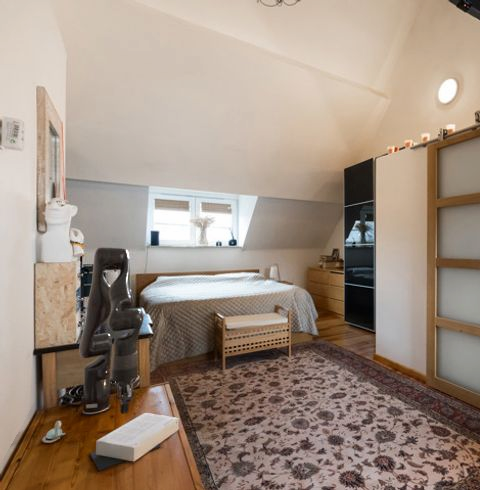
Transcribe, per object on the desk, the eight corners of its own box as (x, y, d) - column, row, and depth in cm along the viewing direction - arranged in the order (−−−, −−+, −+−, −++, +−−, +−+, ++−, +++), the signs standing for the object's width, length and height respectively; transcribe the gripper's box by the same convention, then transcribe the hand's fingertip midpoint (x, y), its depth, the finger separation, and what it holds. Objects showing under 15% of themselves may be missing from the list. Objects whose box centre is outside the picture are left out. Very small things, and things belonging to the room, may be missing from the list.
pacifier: (46, 446, 126) (67, 438, 131) (45, 429, 126) (66, 422, 131) (39, 439, 130) (60, 432, 135) (39, 423, 130) (59, 416, 135)
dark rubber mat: (89, 454, 122) (89, 453, 122) (147, 433, 136) (147, 432, 136) (99, 471, 114) (99, 470, 114) (160, 447, 127) (160, 446, 127)
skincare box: (95, 456, 121) (133, 462, 118) (95, 440, 121) (133, 446, 118) (145, 425, 142) (179, 429, 138) (145, 412, 142) (179, 416, 138)
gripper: (143, 367, 124) (142, 415, 125) (131, 358, 133) (130, 403, 133) (118, 373, 119) (117, 423, 119) (107, 363, 127) (106, 410, 128)
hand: (124, 412), depth 126 cm, fingers closed
